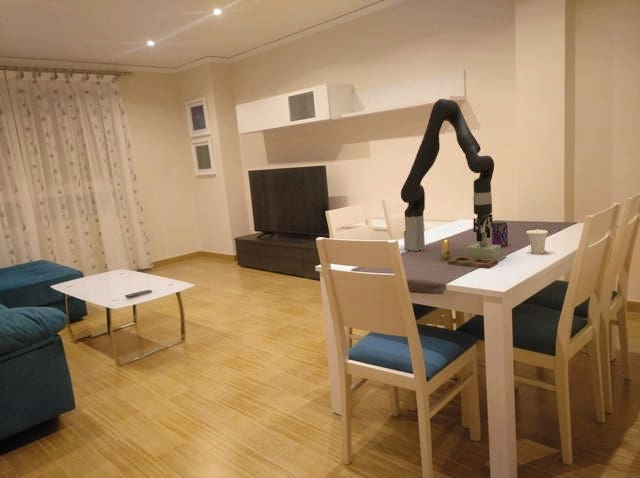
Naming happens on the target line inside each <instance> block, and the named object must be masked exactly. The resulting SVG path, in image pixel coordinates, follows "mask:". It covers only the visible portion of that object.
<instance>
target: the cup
mask: <svg viewBox="0 0 640 478" xmlns="http://www.w3.org/2000/svg"><path fill="white" fill-rule="evenodd" d="M525 233H526V235H527V237H528V240H529V243H530V253H531V254H533V255H544V254H545V253H546V250H545V247H546V240H547V237H548V236H547V235H548V234H549V231H548V230H545V229H538V228H537V229H532V230H526V232H525Z"/></svg>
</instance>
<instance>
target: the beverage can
mask: <svg viewBox="0 0 640 478" xmlns="http://www.w3.org/2000/svg"><path fill="white" fill-rule="evenodd" d="M508 229H509V227H508V224H507V221H505V220H497V221H495V220H493V227H491V245H501V248H505V247H507V246H508V245H509V242H508V241H509V239H508V238H509V237H508V234H509V233H508Z"/></svg>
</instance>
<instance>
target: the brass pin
mask: <svg viewBox="0 0 640 478" xmlns="http://www.w3.org/2000/svg"><path fill="white" fill-rule="evenodd" d="M451 250H452V249H451V239H450V238H441V240H440V251H441V252H440V253H441V255H440V256H441V260H442V261H448V260H451V259H452V258H451V257H452V252H451Z"/></svg>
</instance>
